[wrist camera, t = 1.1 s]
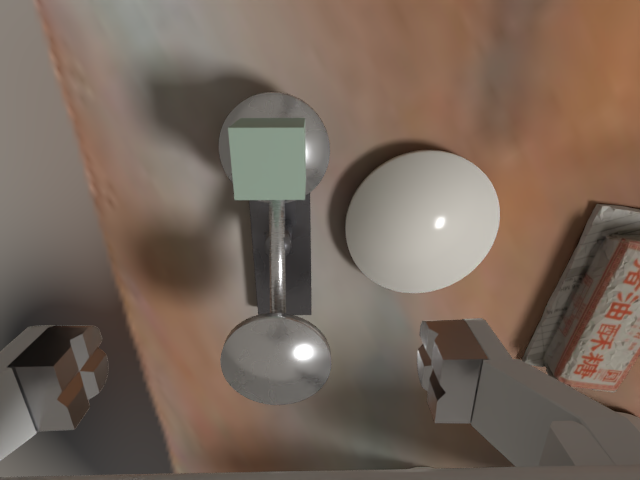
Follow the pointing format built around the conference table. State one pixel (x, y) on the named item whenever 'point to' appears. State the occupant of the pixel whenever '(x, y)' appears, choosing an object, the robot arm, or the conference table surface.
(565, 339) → the packaged product
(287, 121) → the block
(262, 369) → the balance
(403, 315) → the conference table surface
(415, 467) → the decorative candle
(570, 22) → the conference table surface
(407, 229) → the dish
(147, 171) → the conference table surface
